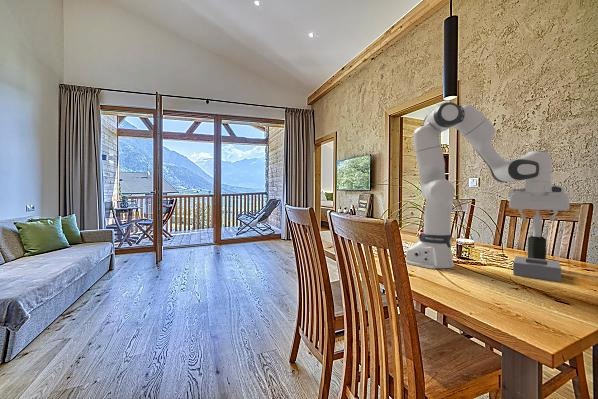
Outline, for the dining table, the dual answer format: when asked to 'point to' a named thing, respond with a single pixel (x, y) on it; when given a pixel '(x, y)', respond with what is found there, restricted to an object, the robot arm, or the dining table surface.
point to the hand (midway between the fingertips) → (537, 220)
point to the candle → (537, 240)
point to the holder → (537, 268)
